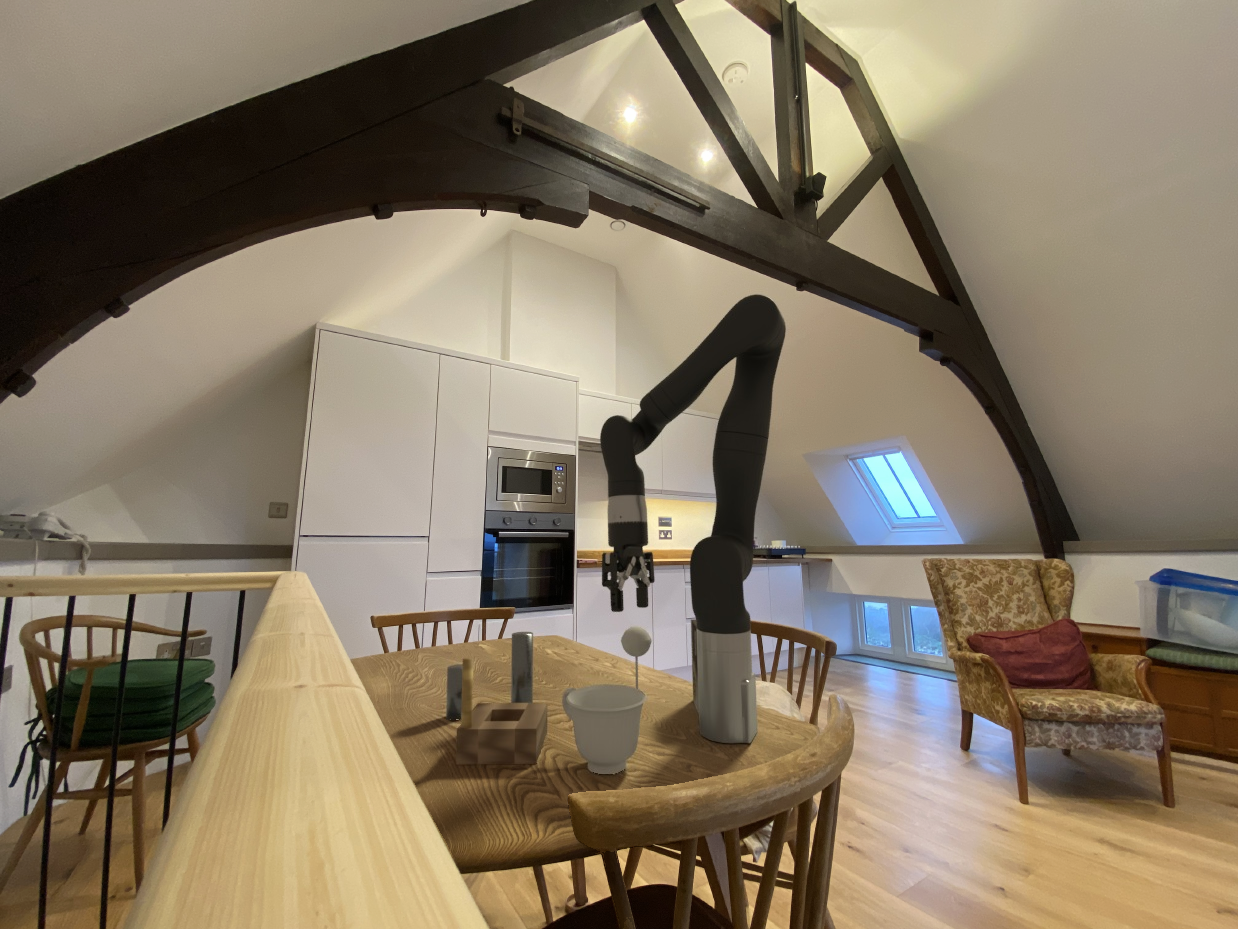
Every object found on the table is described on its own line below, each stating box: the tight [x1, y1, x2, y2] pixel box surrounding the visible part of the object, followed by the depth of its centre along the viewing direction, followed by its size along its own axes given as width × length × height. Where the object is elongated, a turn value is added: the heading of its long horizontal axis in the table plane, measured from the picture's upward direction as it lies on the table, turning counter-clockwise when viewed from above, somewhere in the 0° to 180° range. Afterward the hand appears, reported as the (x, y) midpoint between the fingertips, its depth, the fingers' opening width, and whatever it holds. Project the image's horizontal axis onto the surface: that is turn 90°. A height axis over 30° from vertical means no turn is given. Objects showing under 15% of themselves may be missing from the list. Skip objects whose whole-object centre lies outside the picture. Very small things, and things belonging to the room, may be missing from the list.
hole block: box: [455, 657, 548, 765], centre depth 87 cm, size 12×12×15 cm
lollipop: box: [620, 625, 653, 689], centre depth 107 cm, size 6×6×15 cm
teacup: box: [561, 683, 648, 775], centre depth 80 cm, size 12×15×10 cm
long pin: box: [510, 631, 534, 703], centre depth 101 cm, size 4×4×15 cm
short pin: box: [445, 663, 463, 721], centre depth 101 cm, size 4×4×9 cm
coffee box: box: [690, 619, 699, 715], centre depth 105 cm, size 9×6×16 cm
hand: (630, 609), depth 99 cm, fingers open, 8 cm apart
